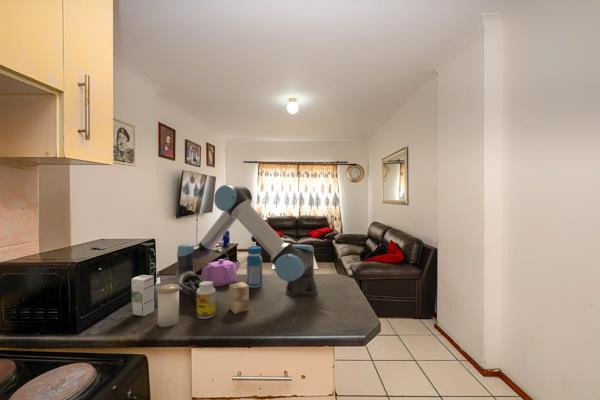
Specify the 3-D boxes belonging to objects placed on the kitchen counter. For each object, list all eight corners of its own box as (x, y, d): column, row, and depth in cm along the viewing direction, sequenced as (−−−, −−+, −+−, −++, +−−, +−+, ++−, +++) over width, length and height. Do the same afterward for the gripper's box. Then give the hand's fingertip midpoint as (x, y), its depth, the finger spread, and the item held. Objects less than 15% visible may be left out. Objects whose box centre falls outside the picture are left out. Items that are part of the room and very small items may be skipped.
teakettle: (199, 286, 141) (199, 262, 141) (211, 277, 158) (211, 255, 158) (231, 287, 140) (232, 263, 140) (241, 277, 157) (241, 256, 157)
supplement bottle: (192, 316, 106) (192, 283, 106) (207, 310, 112) (207, 279, 112) (205, 321, 103) (205, 286, 102) (219, 314, 109) (219, 281, 108)
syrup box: (154, 311, 111) (154, 275, 111) (142, 317, 106) (142, 279, 106) (143, 309, 113) (143, 274, 113) (131, 315, 107) (130, 278, 107)
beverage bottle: (251, 289, 138) (251, 249, 137) (243, 285, 144) (243, 247, 144) (265, 285, 143) (265, 247, 143) (256, 281, 150) (257, 245, 149)
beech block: (243, 305, 118) (243, 281, 118) (248, 310, 113) (248, 285, 113) (229, 308, 114) (229, 284, 114) (234, 313, 109) (234, 288, 109)
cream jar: (183, 319, 104) (183, 284, 104) (170, 328, 97) (170, 291, 97) (166, 317, 106) (166, 283, 106) (152, 325, 99) (152, 289, 99)
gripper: (204, 286, 133) (219, 302, 114) (175, 291, 126) (186, 309, 107) (204, 270, 133) (219, 284, 114) (175, 275, 126) (186, 289, 107)
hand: (203, 296), depth 110 cm, fingers closed
